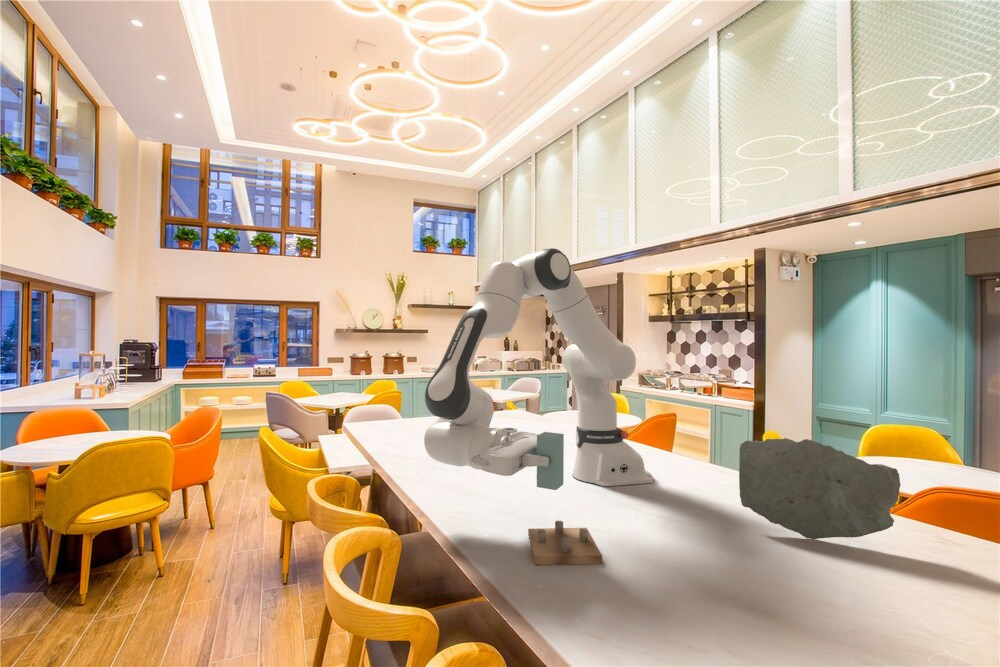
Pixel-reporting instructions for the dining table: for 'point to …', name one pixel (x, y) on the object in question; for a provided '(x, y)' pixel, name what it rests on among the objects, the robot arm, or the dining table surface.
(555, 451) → the block
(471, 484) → the dining table surface
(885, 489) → the rock
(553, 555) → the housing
